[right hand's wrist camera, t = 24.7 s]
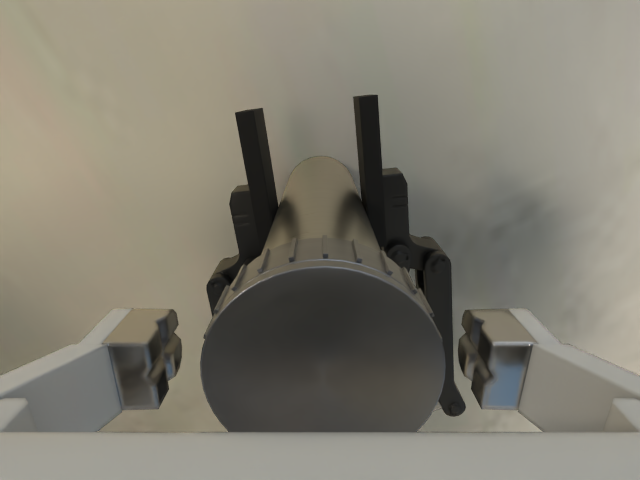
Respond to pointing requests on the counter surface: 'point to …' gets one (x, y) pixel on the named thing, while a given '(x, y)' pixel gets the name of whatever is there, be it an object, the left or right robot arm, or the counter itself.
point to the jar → (321, 206)
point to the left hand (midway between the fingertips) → (306, 104)
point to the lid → (322, 343)
